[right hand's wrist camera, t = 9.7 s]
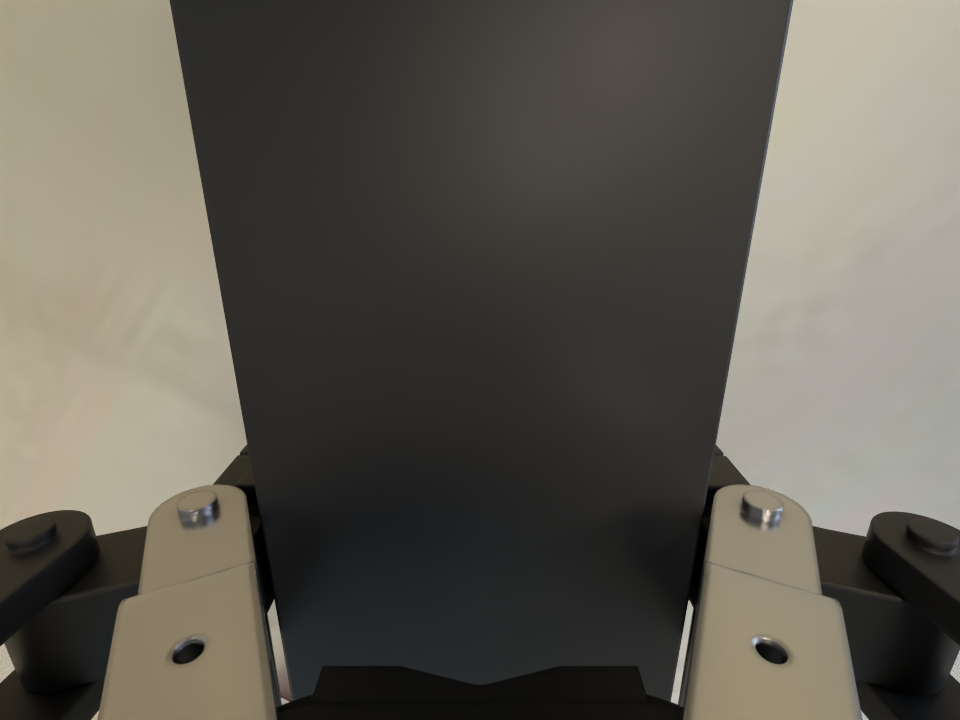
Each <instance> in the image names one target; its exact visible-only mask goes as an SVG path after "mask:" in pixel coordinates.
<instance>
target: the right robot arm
mask: <svg viewBox="0 0 960 720" xmlns="http://www.w3.org/2000/svg"><path fill="white" fill-rule="evenodd" d="M273 600H274V593H273V587H272V581H271V576H270V570H269V564H268V559H267V553H266V547H265V541H264V536H263V530H262V524H261V519H260V513H259V507H258V501H257V496H256V490H255V484H254V479H253V473H252V467H251V461H250V456H249V450H248V444H247V445H246V446H245V447H244V449H243V450H242V451H241V452H240V455H238V456H237V457H236V458H235V459H234V460H233V462H232V463H231V464H230V465H229V466H228V468H227V469H226V470H225V471H224V472H223V473H222V475H221V476H220V477H219V478H218V479H217V481H216V482H215V483H214V484H213V485H208V486H202V487H197V488H194V489H190V490H187V491H185V492H182V493H180V494H178V495H175V496H173V497H172V498H170V499H168V500H167V501H165V502H164V503H162V504H161V505H160V506H159V507H157V508H156V509H155V510H154V512H153V513H152V514H151V516H150V518H149V521H148V526H145V527H141V528H136V529H131V530H125V531H120V532H115V533H110V534H105V535H99V536H96V534H95V531H94V528H93V525H92V521H91V519H90V517H89V516H88V515H87V514H86V513H83V512H81V511H75V510H62V511H53V512H48V513H43V514H39V515H36V516H32V517H29V518H26V519H24V520H21V521H18V522H16V523H14V524H11V525H9V526H7V527H5V528H3V529H1V530H0V646H1V645H2V644H5V646H6V648H7V651H8V653H9V655H10V658H11V660H12V663H13V665H14V667H15V670H14V671H13V672H12V673H11V674H10V675H9V676H8V677H6V678H5V679H4V680H3V681H2V682H1V683H0V720H91V719H92V718H93V717H94V715H95V714H96V713H97V712H98V710H99V715H98V720H862V715H861V710H862V712H863V713H864V714H865V715H866V717H867V718H868V719H869V720H960V683H959V682H958V681H957V680H956V679H955V678H954V677H953V676H951V675H950V672H951V669H952V667H953V665H954V662H955V660H956V657H957V655H958V653H959V650H960V530H958V529H956V528H954V527H952V526H950V525H947V524H945V523H943V522H940V521H937V520H934V519H931V518H928V517H925V516H921V515H917V514H912V513H906V512H884V513H880V514H877V515H876V516H874V517H873V519H872V520H871V523H870V526H869V530H868V533H867V536H866V537H864V536H859V535H854V534H849V533H844V532H838V531H833V530H828V529H823V528H819V527H814V526H812V521H811V518H810V516H809V514H808V513H807V512H806V510H805V509H804V508H803V507H801V506H800V505H799V504H798V503H796V502H795V501H793V500H792V499H790V498H788V497H787V496H785V495H782V494H780V493H778V492H775V491H773V490H770V489H766V488H763V487H758V486H752V485H750V484H749V483H748V481H747V480H746V479H745V478H744V477H743V476H742V474H741V473H740V472H739V471H738V470H737V469H736V467H735V466H734V465H733V464H732V463H731V462H730V460H729V459H728V458H727V457H726V456H723V452H722V451H721V450H720V449H719V448H718V446H717V445H715V450H714V456H713V462H712V467H711V473H710V479H709V484H708V490H707V496H706V502H705V507H704V513H703V519H702V524H701V530H700V536H699V542H698V547H697V553H696V559H695V564H694V570H693V576H692V582H691V587H690V593H689V599H688V600H690V602H691V604H692V606H693V608H694V609H693V614H692V620H691V625H690V631H689V638H688V644H687V651H686V657H685V663H684V670H683V676H682V683H681V689H680V696H679V702H678V705H677V704H675V703H672V702H669V701H666V700H663V699H661V698H658V697H655V696H651V695H647V694H646V691H645V688H644V684H643V681H642V678H641V675H640V672H639V669H638V666H558V667H554V668H550V669H546V670H542V671H538V672H534V673H530V674H526V675H522V676H518V677H514V678H510V679H506V680H502V681H498V682H494V683H490V684H484V685H476V684H470V683H466V682H462V681H458V680H454V679H450V678H446V677H442V676H438V675H434V674H430V673H426V672H422V671H418V670H414V669H410V668H406V667H402V666H322V669H321V672H320V675H319V678H318V681H317V684H316V688H315V691H314V694H313V695H309V696H305V697H302V698H299V699H297V700H294V701H291V702H288V703H285V704H283V705H282V702H281V696H280V689H279V683H278V676H277V670H276V663H275V657H274V651H273V644H272V638H271V631H270V625H269V620H268V614H267V613H268V611H269V609H270V607H271V605H272V602H273Z"/></svg>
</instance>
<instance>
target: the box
mask: <svg viewBox="0 0 960 720" xmlns="http://www.w3.org/2000/svg"><path fill="white" fill-rule="evenodd" d="M170 5H171V10H172V16H173V22H174V27H175V33H176V39H177V45H178V50H179V56H180V62H181V67H182V73H183V79H184V85H185V90H186V96H187V102H188V107H189V113H190V119H191V125H192V130H193V136H194V142H195V147H196V153H197V159H198V165H199V170H200V176H201V182H202V187H203V193H204V199H205V205H206V210H207V216H208V222H209V227H210V233H211V239H212V244H213V250H214V256H215V262H216V267H217V273H218V279H219V284H220V290H221V296H222V302H223V307H224V313H225V319H226V324H227V330H228V336H229V342H230V347H231V353H232V359H233V364H234V370H235V376H236V382H237V387H238V393H239V399H240V404H241V410H242V416H243V421H244V427H245V433H246V439H247V444H248V450H249V456H250V461H251V467H252V473H253V479H254V484H255V490H256V496H257V501H258V507H259V513H260V519H261V524H262V530H263V536H264V541H265V547H266V553H267V559H268V564H269V570H270V576H271V581H272V587H273V593H274V599H275V604H276V610H277V616H278V621H279V627H280V633H281V638H282V644H283V650H284V656H285V661H286V667H287V673H288V678H289V684H290V690H291V696H292V701H294V700H297V699H299V698H302V697H305V696H309V695H313V694H314V691H315V688H316V684H317V681H318V678H319V675H320V672H321V669H322V666H402V667H406V668H410V669H414V670H418V671H422V672H426V673H430V674H434V675H438V676H442V677H446V678H450V679H454V680H458V681H462V682H466V683H470V684H476V685H484V684H490V683H494V682H498V681H502V680H506V679H510V678H514V677H518V676H522V675H526V674H530V673H534V672H538V671H542V670H546V669H550V668H554V667H558V666H638V669H639V672H640V675H641V678H642V681H643V684H644V688H645V691H646V694H647V695H651V696H655V697H658V698H661V699H663V700H666V701H669V702H671V696H672V690H673V684H674V679H675V673H676V667H677V662H678V656H679V650H680V644H681V639H682V633H683V627H684V622H685V616H686V610H687V604H688V599H689V593H690V587H691V582H692V576H693V570H694V564H695V559H696V553H697V547H698V542H699V536H700V530H701V524H702V519H703V513H704V507H705V502H706V496H707V490H708V484H709V479H710V473H711V467H712V462H713V456H714V450H715V444H716V439H717V433H718V427H719V422H720V416H721V410H722V404H723V399H724V393H725V387H726V382H727V376H728V370H729V364H730V359H731V353H732V347H733V342H734V336H735V330H736V324H737V319H738V313H739V307H740V302H741V296H742V290H743V284H744V279H745V273H746V267H747V262H748V256H749V250H750V245H751V239H752V233H753V227H754V222H755V216H756V210H757V205H758V199H759V193H760V187H761V182H762V176H763V170H764V165H765V159H766V153H767V147H768V142H769V136H770V130H771V125H772V119H773V113H774V107H775V102H776V96H777V90H778V85H779V79H780V73H781V67H782V62H783V56H784V50H785V45H786V39H787V33H788V27H789V22H790V16H791V10H792V5H793V0H170Z"/></svg>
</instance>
